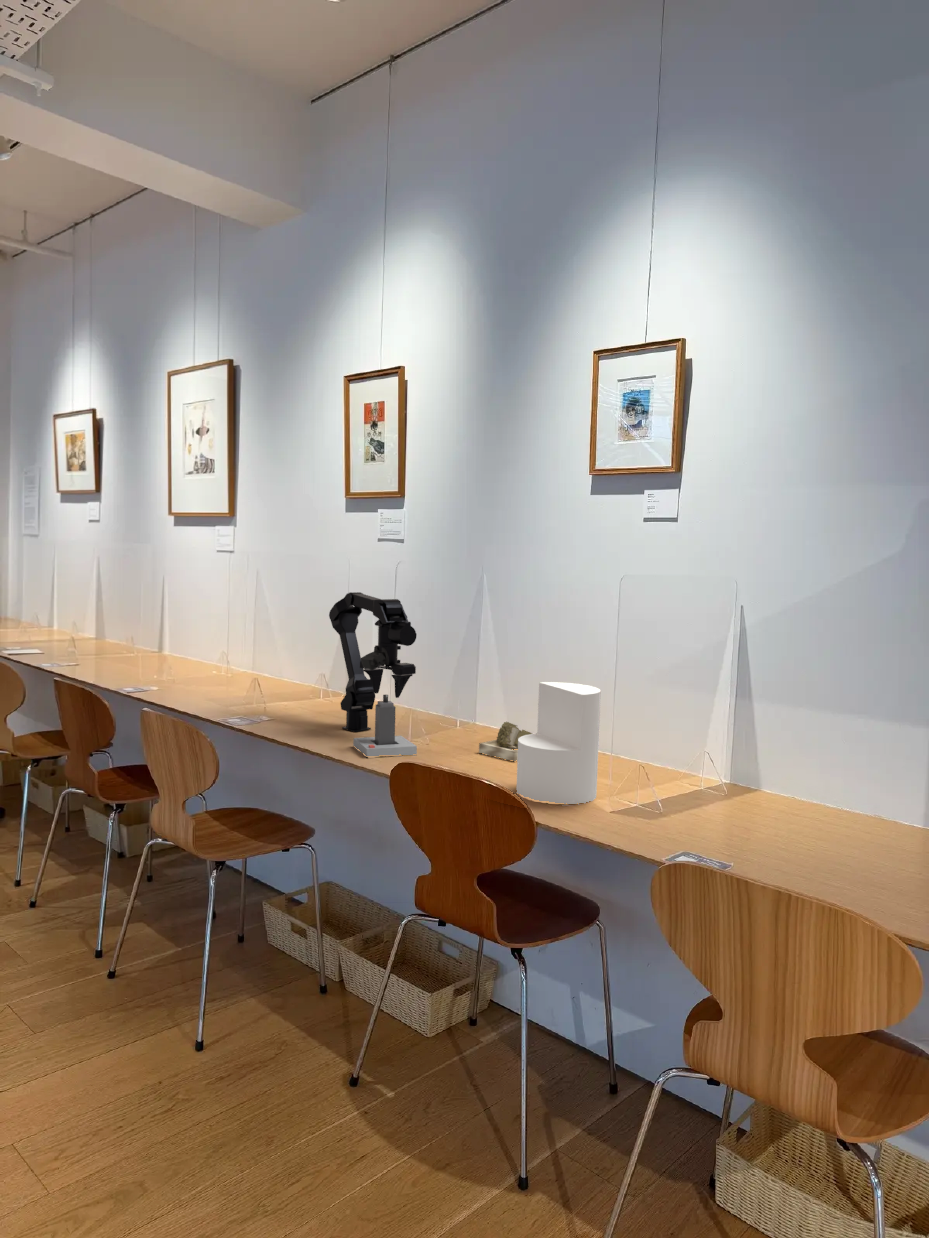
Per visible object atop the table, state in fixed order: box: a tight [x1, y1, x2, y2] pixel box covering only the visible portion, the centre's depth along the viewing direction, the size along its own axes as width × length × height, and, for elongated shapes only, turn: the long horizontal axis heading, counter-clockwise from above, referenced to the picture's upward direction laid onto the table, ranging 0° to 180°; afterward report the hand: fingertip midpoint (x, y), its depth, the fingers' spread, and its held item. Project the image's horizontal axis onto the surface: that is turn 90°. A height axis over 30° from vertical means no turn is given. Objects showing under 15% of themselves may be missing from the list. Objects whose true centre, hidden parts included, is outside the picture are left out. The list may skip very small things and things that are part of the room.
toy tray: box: [478, 739, 518, 761], centre depth 254 cm, size 13×21×3 cm, turn 136°
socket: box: [352, 735, 418, 756], centre depth 251 cm, size 14×14×3 cm
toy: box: [496, 721, 534, 749], centre depth 254 cm, size 7×7×15 cm
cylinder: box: [516, 681, 602, 805], centre depth 212 cm, size 19×19×25 cm
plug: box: [374, 694, 396, 745], centre depth 250 cm, size 4×4×15 cm
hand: (386, 695), depth 265 cm, fingers open, 9 cm apart
